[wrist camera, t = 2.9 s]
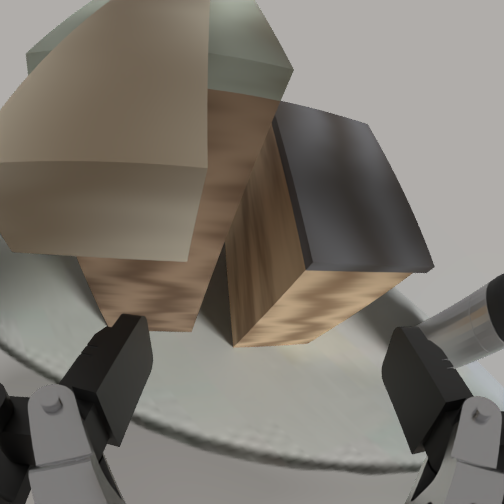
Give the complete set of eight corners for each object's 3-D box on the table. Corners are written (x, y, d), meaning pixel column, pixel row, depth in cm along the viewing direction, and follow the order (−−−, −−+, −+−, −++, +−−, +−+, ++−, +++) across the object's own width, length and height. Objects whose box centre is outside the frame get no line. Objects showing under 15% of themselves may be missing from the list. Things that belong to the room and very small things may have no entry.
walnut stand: (189, 234, 43) (252, -4, 17) (191, 331, 36) (293, 69, 10) (119, 230, 40) (118, -16, 14) (109, 328, 33) (25, 53, 7)
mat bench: (291, 237, 48) (367, 124, 29) (311, 346, 39) (434, 266, 21) (220, 232, 44) (270, 98, 26) (229, 351, 36) (312, 262, 18)
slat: (205, -12, 16) (212, -34, 14) (186, 261, 5) (207, 167, 3) (165, -16, 15) (170, -39, 13) (12, 252, 4) (-36, 164, 2)
